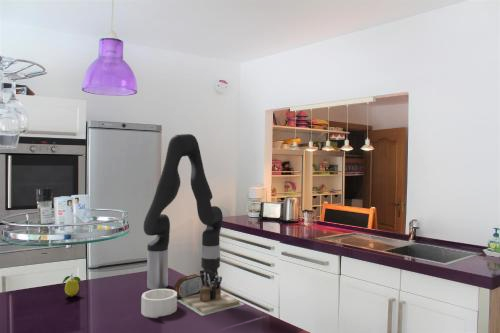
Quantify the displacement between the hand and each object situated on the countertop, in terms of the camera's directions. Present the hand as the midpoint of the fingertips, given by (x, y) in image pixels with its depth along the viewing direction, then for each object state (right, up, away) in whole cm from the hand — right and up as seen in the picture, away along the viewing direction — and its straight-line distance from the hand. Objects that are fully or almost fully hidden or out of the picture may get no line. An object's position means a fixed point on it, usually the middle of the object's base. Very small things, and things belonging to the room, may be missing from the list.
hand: (210, 297), depth 160 cm
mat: (0, -2, 0) cm, 2 cm away
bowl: (-19, -2, -8) cm, 21 cm away
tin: (-10, -3, +10) cm, 14 cm away
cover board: (0, -2, 0) cm, 2 cm away
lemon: (-60, -2, +7) cm, 60 cm away
